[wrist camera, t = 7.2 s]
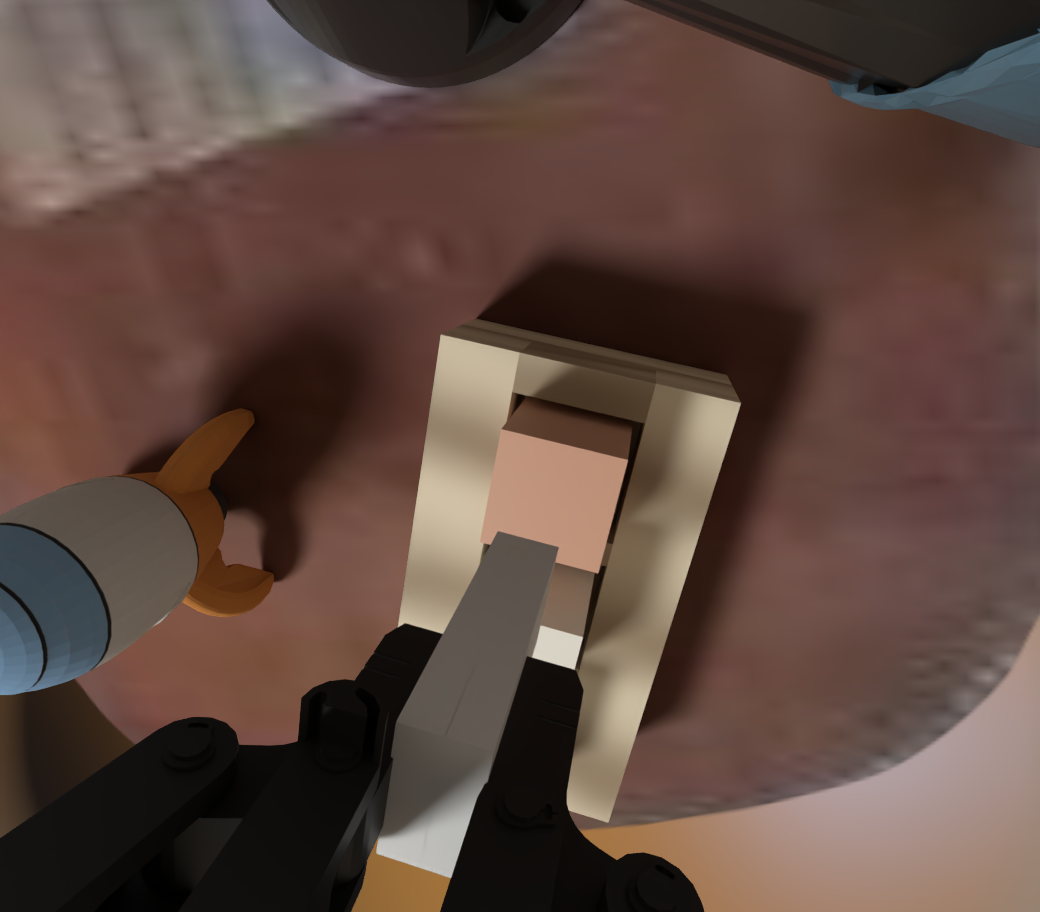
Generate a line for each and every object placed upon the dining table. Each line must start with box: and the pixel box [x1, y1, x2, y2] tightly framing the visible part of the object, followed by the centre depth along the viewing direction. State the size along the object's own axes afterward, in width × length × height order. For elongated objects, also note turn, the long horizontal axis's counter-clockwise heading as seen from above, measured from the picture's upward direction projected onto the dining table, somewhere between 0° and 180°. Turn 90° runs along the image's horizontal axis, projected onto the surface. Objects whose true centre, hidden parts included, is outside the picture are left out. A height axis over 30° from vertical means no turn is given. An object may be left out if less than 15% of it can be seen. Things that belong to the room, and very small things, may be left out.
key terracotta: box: [480, 396, 633, 573], centre depth 24 cm, size 4×4×5 cm
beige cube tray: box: [398, 319, 741, 822], centre depth 30 cm, size 20×11×5 cm, turn 169°
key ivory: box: [532, 562, 595, 670], centre depth 25 cm, size 4×4×5 cm
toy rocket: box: [0, 408, 274, 695], centre depth 29 cm, size 10×11×15 cm
